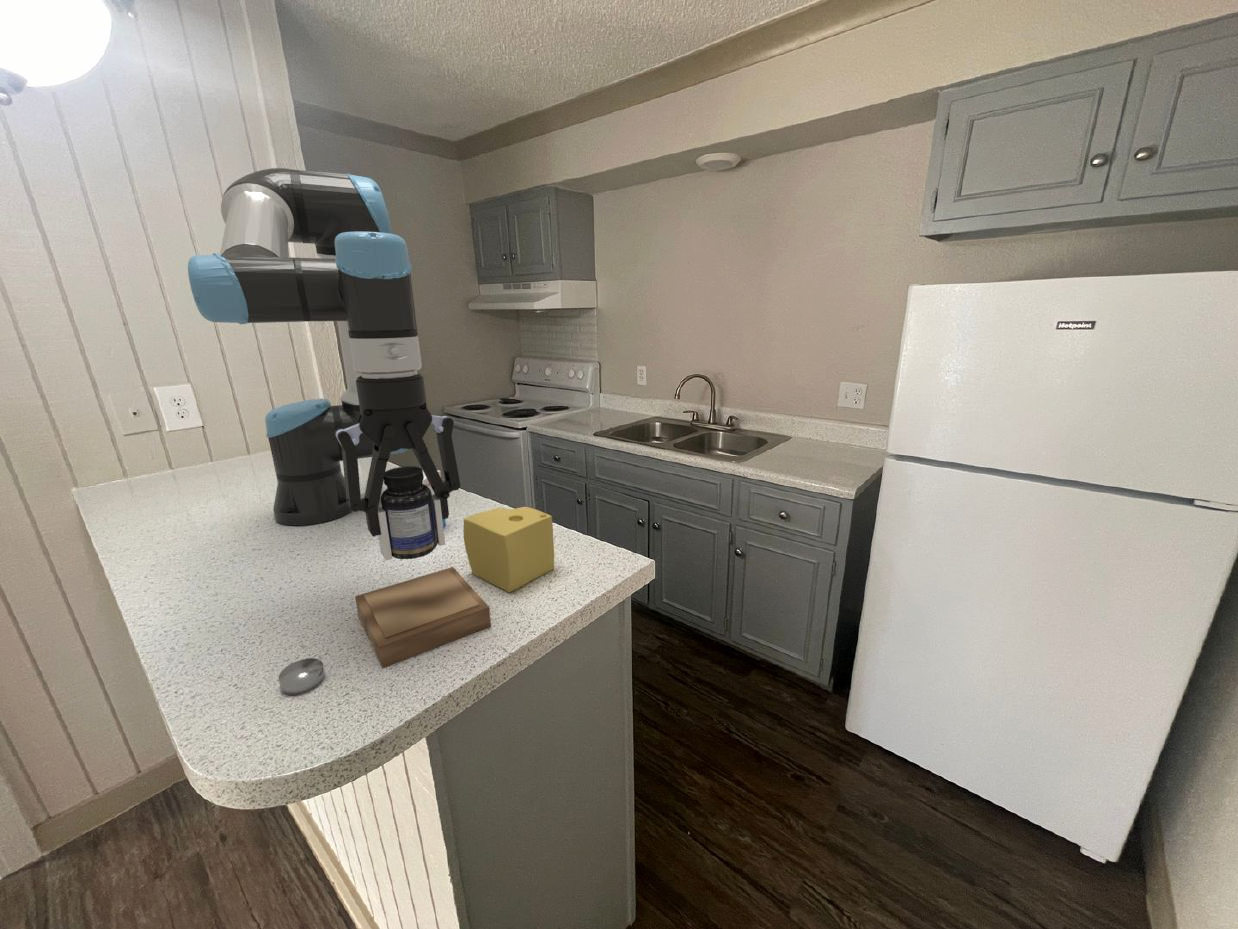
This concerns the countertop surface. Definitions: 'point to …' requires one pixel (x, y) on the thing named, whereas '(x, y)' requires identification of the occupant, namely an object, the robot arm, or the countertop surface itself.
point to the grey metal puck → (301, 676)
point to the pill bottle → (408, 513)
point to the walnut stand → (421, 614)
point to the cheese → (509, 545)
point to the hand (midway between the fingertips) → (413, 548)
